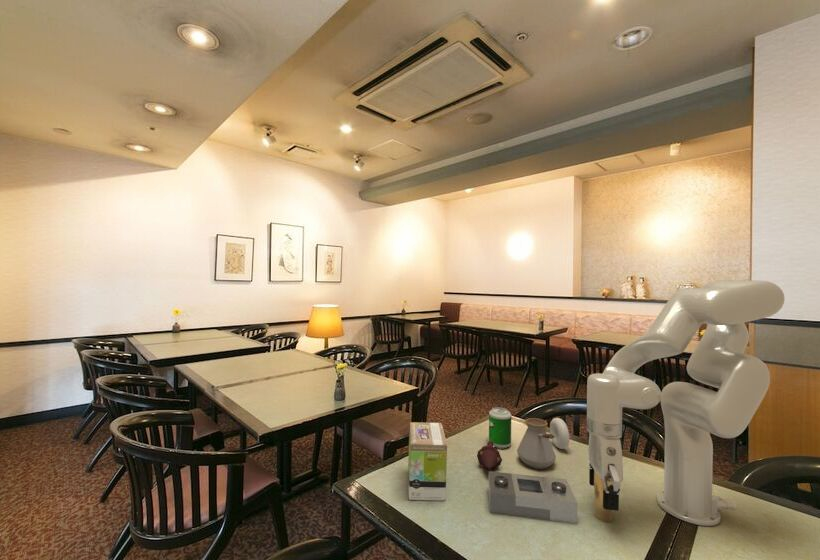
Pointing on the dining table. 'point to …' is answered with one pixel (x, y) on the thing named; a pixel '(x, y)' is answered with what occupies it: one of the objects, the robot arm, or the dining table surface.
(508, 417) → the soda can
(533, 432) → the coffee pot
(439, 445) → the tea box
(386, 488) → the dining table surface
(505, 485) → the grey rectangular block
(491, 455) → the icecream
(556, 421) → the donut
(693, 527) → the dining table surface
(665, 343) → the robot arm
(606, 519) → the pin
